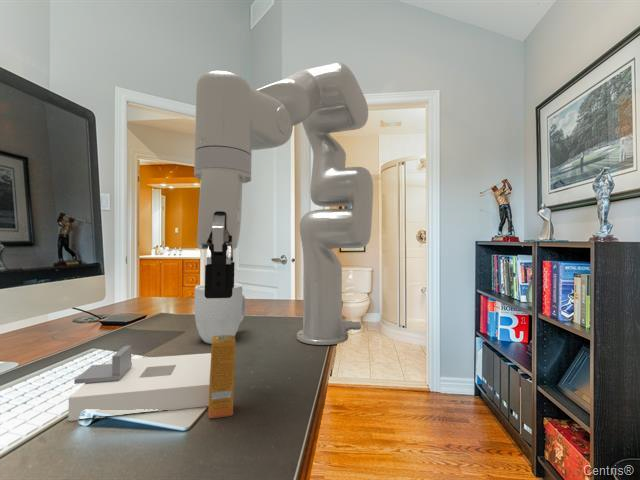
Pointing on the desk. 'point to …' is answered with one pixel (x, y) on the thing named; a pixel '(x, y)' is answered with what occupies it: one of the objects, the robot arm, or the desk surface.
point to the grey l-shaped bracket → (108, 368)
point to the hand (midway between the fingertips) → (221, 292)
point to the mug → (218, 313)
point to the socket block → (149, 386)
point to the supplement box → (222, 376)
